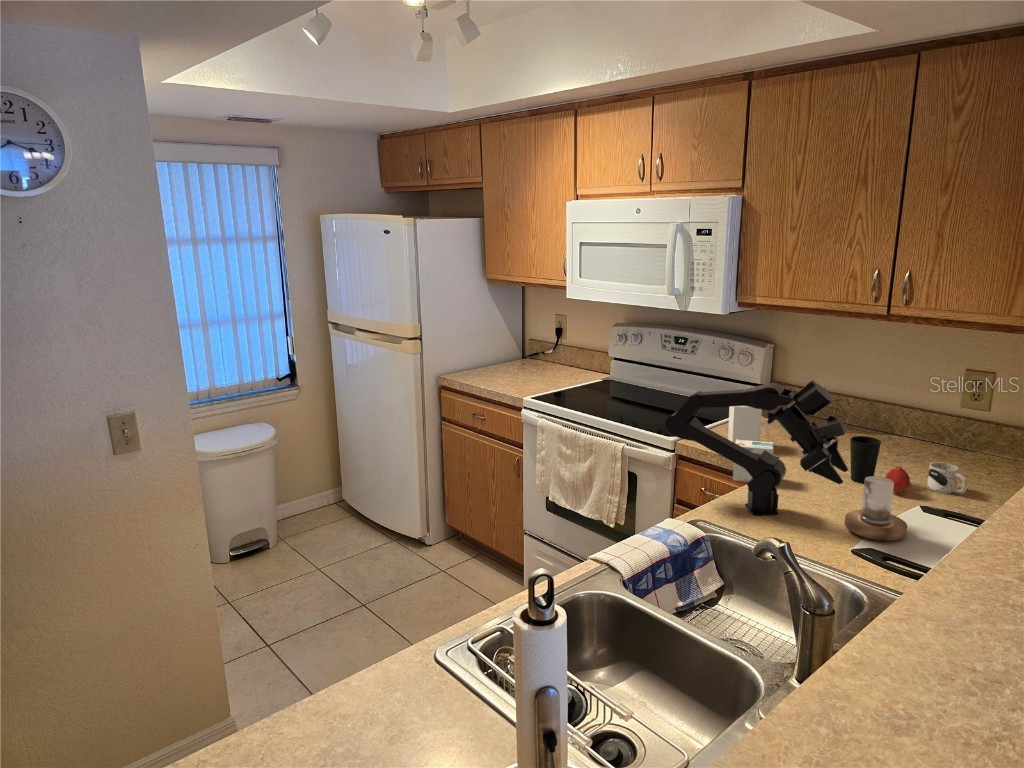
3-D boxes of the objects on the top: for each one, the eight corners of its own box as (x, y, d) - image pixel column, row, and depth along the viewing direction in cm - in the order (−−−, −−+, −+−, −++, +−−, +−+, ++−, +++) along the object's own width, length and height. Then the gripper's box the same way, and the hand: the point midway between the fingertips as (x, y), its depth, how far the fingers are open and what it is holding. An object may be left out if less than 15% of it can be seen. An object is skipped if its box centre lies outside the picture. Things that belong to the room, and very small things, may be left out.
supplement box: (760, 451, 218) (762, 406, 214) (731, 450, 219) (733, 406, 216) (754, 442, 226) (757, 399, 223) (727, 441, 228) (729, 399, 224)
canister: (860, 524, 157) (864, 483, 155) (859, 513, 162) (863, 474, 160) (891, 528, 154) (896, 487, 152) (889, 517, 160) (893, 478, 158)
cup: (852, 473, 196) (856, 434, 193) (880, 479, 191) (884, 439, 188) (842, 480, 191) (846, 440, 188) (871, 487, 186) (875, 446, 183)
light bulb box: (772, 477, 195) (774, 441, 193) (771, 485, 189) (774, 448, 187) (733, 472, 199) (735, 438, 197) (732, 480, 193) (733, 445, 191)
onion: (886, 487, 185) (889, 460, 183) (910, 492, 182) (913, 464, 180) (881, 494, 181) (884, 466, 179) (906, 498, 177) (909, 470, 175)
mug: (921, 487, 185) (923, 464, 183) (938, 483, 187) (941, 460, 186) (955, 500, 176) (959, 476, 174) (973, 496, 178) (976, 472, 177)
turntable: (862, 545, 152) (863, 533, 152) (834, 521, 165) (834, 510, 164) (918, 543, 153) (919, 531, 152) (886, 519, 165) (887, 508, 165)
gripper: (819, 416, 151) (869, 470, 148) (831, 398, 167) (877, 447, 163) (780, 444, 157) (827, 497, 154) (795, 424, 173) (838, 471, 169)
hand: (844, 477), depth 160 cm, fingers open, 9 cm apart
